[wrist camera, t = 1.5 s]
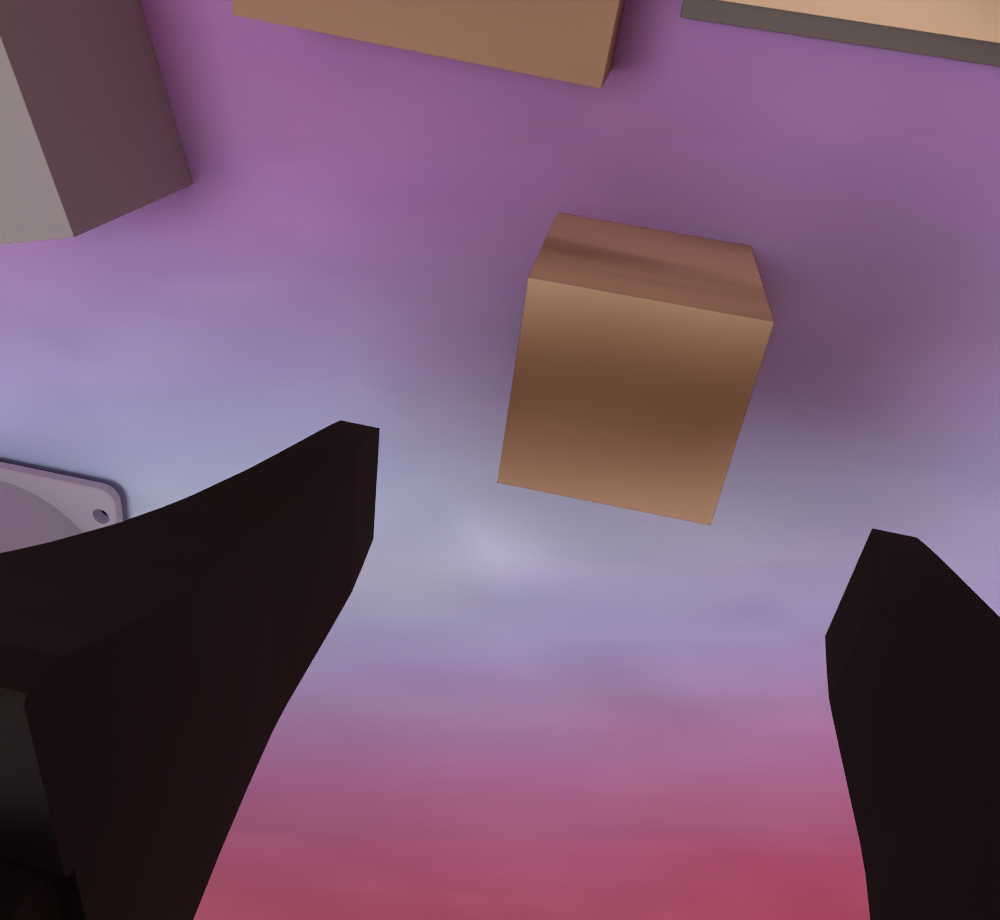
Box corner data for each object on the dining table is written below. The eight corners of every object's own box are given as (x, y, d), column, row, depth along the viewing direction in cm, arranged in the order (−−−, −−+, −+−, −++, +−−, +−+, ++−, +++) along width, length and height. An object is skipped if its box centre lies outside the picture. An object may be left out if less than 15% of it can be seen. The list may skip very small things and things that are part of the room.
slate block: (194, 183, 21) (73, 237, 17) (36, 200, 22) (-116, 255, 18) (133, -25, 19) (-22, -23, 15) (-38, 4, 20) (-232, 13, 16)
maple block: (701, 416, 22) (710, 525, 18) (529, 384, 22) (497, 482, 18) (750, 245, 20) (774, 322, 15) (557, 211, 20) (528, 278, 16)
